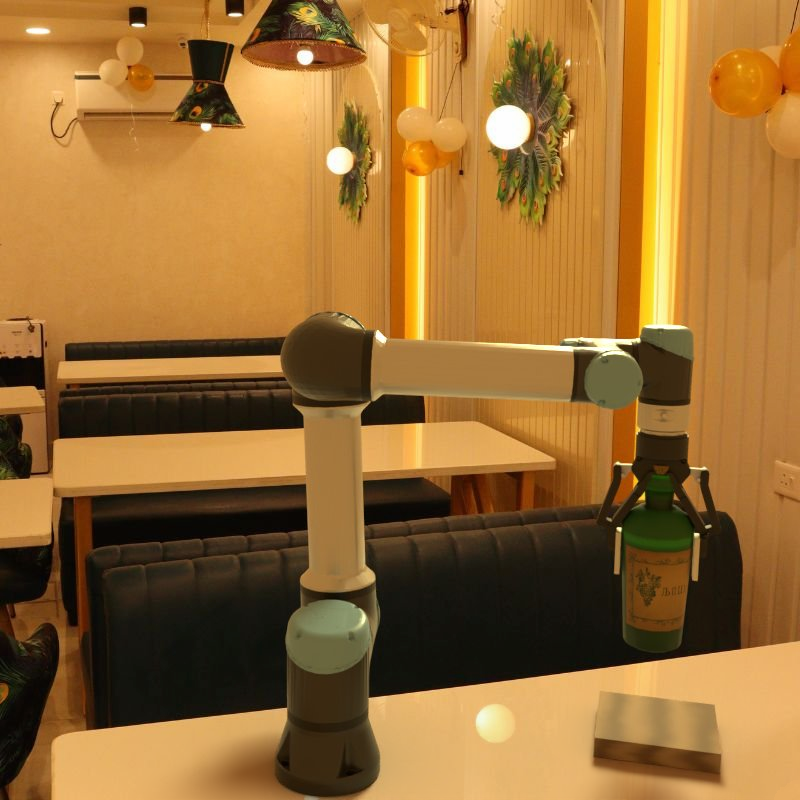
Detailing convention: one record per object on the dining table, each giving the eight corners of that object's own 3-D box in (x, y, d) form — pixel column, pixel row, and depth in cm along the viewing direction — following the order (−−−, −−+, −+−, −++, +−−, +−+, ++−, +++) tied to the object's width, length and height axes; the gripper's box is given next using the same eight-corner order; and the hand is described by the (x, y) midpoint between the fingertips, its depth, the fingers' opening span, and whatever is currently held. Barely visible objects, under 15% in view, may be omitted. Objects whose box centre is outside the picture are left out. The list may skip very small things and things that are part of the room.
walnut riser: (593, 756, 149) (594, 737, 149) (598, 707, 164) (599, 690, 164) (719, 773, 145) (721, 754, 144) (713, 722, 160) (714, 704, 160)
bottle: (637, 661, 146) (646, 474, 141) (603, 633, 156) (611, 457, 152) (701, 653, 149) (713, 470, 144) (664, 626, 159) (674, 454, 154)
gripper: (581, 431, 146) (575, 575, 150) (748, 440, 141) (738, 589, 144) (584, 422, 153) (579, 560, 157) (743, 430, 148) (733, 573, 152)
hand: (655, 574), depth 151 cm, fingers closed on bottle, 11 cm apart
